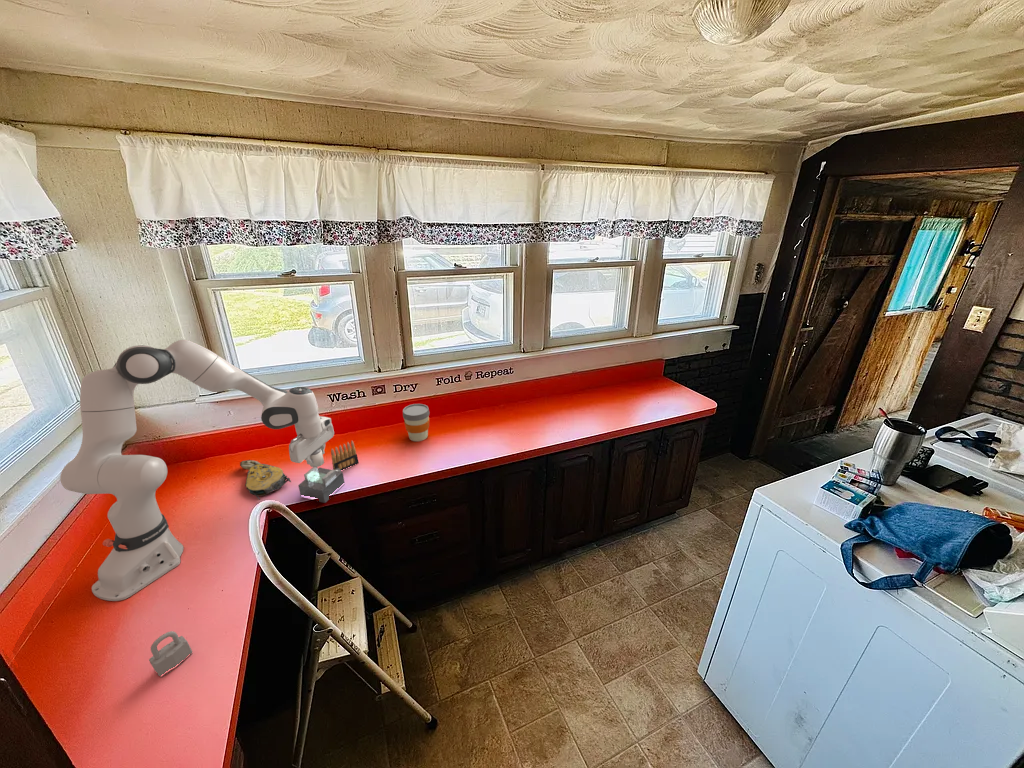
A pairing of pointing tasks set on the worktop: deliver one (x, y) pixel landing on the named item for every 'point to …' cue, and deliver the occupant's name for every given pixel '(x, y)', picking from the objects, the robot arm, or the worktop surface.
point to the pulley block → (263, 477)
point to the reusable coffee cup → (416, 421)
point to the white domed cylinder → (317, 458)
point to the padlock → (169, 652)
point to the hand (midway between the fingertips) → (316, 458)
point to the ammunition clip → (344, 457)
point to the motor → (321, 483)
